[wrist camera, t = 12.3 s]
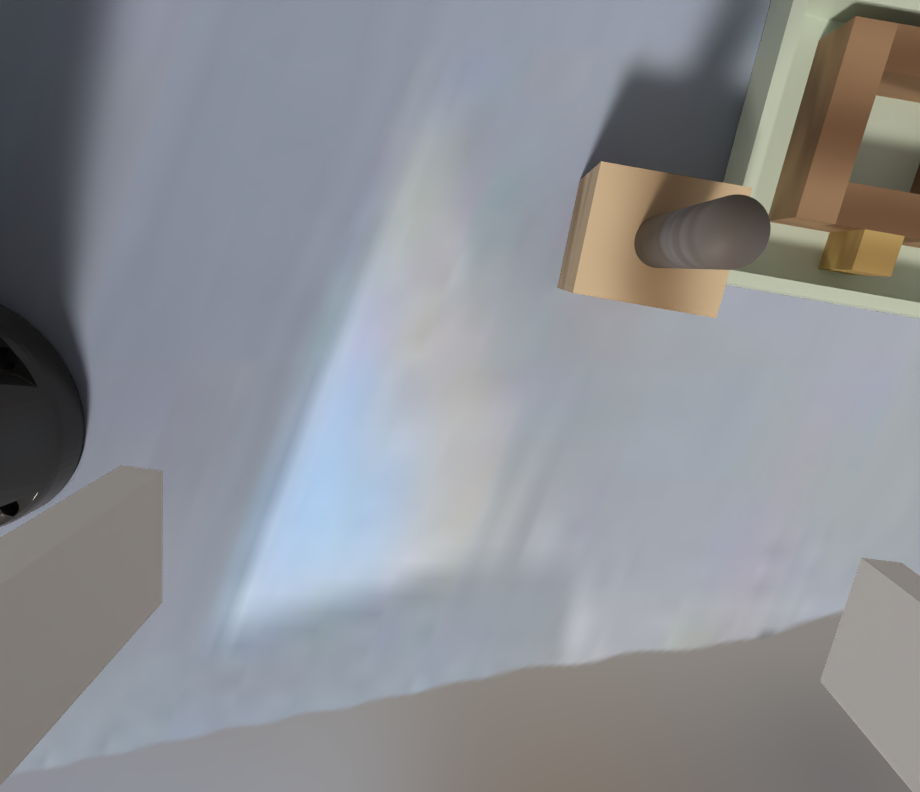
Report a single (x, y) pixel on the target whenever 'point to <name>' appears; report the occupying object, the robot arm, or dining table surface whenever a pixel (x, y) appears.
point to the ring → (851, 148)
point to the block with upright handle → (660, 238)
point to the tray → (877, 164)
